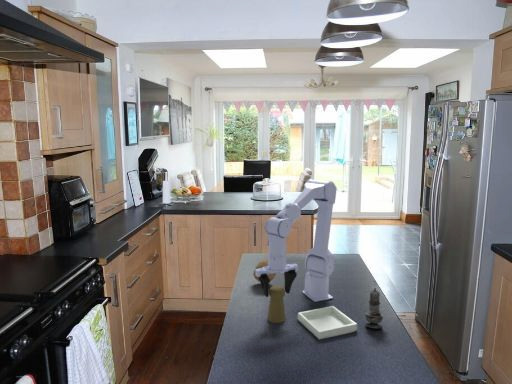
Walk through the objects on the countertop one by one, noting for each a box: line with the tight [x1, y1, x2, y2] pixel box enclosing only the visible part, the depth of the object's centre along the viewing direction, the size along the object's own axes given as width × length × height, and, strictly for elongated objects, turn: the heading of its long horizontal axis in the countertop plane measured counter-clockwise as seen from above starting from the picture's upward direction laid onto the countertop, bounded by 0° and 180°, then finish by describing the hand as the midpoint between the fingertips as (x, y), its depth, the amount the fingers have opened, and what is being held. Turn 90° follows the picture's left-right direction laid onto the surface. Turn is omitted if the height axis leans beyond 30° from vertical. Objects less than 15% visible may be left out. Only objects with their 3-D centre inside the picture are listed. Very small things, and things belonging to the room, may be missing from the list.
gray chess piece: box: [364, 287, 385, 329], centre depth 127 cm, size 6×6×12 cm
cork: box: [267, 285, 287, 324], centre depth 132 cm, size 6×6×11 cm
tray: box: [297, 305, 358, 340], centre depth 129 cm, size 14×14×2 cm
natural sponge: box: [252, 259, 277, 283], centre depth 161 cm, size 9×9×10 cm
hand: (276, 294), depth 132 cm, fingers open, 7 cm apart
